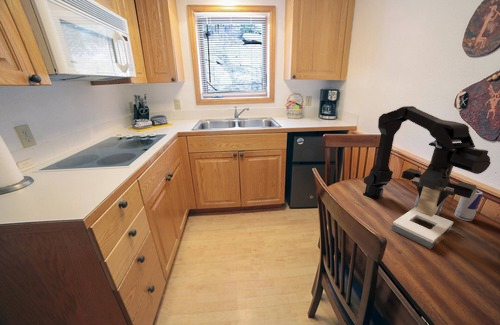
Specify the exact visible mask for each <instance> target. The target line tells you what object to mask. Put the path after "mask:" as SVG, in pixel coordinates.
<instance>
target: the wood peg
mask: <svg viewBox="0 0 500 325" xmlns="http://www.w3.org/2000/svg"><path fill="white" fill-rule="evenodd" d="M445 189H446V188H443V187H441V188H440V187H438V189H436V190H432V189H430V188H427V187H424V186H423V189H422V193H421V196H420V199H419V203H418V206H417V209H416V211H418V212H420V213H423V214H425V215H428V216H430V217H432V216H433V215H434V214H435V213H436V212H437V210H438V207H439V206H438V207H437V202H438V200H439V198H440V196H441V195H442V191H443V190H445Z"/></svg>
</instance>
